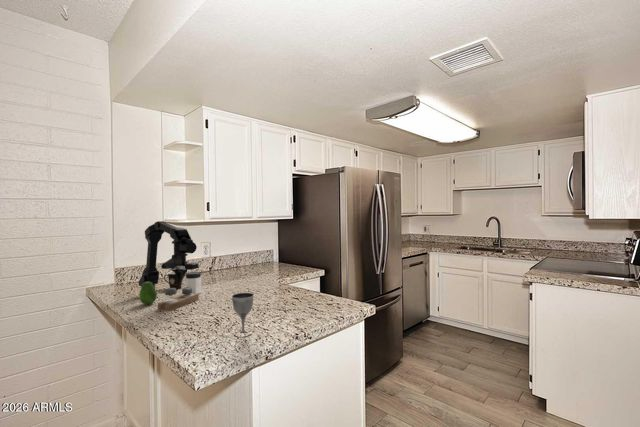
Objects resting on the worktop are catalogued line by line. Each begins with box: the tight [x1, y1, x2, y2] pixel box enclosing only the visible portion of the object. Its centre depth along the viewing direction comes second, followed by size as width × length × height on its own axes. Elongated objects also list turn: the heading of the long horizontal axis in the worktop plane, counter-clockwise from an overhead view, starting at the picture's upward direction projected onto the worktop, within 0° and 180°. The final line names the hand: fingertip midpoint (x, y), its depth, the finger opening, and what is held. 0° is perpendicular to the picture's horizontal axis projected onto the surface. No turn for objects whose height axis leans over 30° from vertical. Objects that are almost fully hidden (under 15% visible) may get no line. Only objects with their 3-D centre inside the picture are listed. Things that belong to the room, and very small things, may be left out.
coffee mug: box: [163, 271, 183, 291], centre depth 194 cm, size 12×9×10 cm
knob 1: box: [164, 287, 177, 297], centre depth 153 cm, size 5×5×3 cm
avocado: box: [139, 281, 158, 306], centre depth 159 cm, size 8×8×12 cm
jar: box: [184, 271, 202, 295], centre depth 181 cm, size 9×8×12 cm
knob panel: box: [157, 293, 199, 312], centre depth 159 cm, size 8×20×3 cm, turn 164°
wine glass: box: [231, 292, 254, 333], centre depth 118 cm, size 8×8×15 cm
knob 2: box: [181, 287, 192, 295], centre depth 165 cm, size 5×5×3 cm
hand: (180, 282), depth 159 cm, fingers closed
